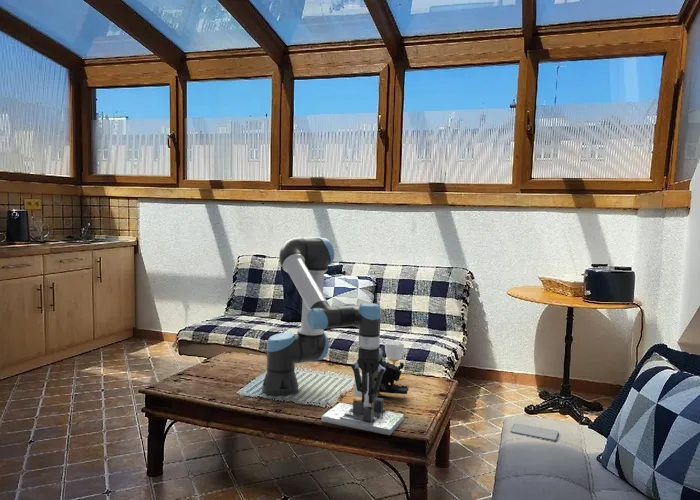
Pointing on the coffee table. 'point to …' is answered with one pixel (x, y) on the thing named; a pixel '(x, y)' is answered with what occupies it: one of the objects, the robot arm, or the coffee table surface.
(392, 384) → the vintage camera
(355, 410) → the breaker
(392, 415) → the breaker panel
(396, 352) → the cup
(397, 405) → the coffee table surface
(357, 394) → the beverage can
